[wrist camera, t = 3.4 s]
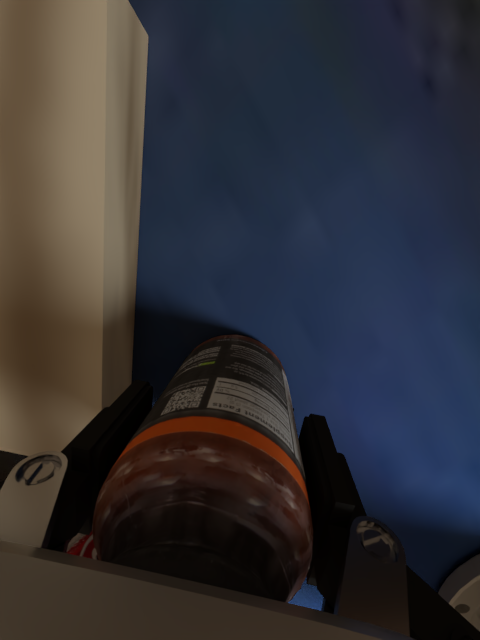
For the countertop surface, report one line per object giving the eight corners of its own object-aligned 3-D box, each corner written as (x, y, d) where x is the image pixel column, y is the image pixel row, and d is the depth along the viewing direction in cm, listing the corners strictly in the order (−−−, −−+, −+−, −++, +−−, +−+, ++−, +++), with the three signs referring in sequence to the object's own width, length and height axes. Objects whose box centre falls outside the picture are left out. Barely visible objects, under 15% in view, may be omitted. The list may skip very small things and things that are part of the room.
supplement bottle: (238, 442, 16) (184, 834, 6) (162, 380, 16) (-70, 689, 5) (310, 380, 15) (434, 758, 4) (230, 307, 14) (113, 524, 3)
